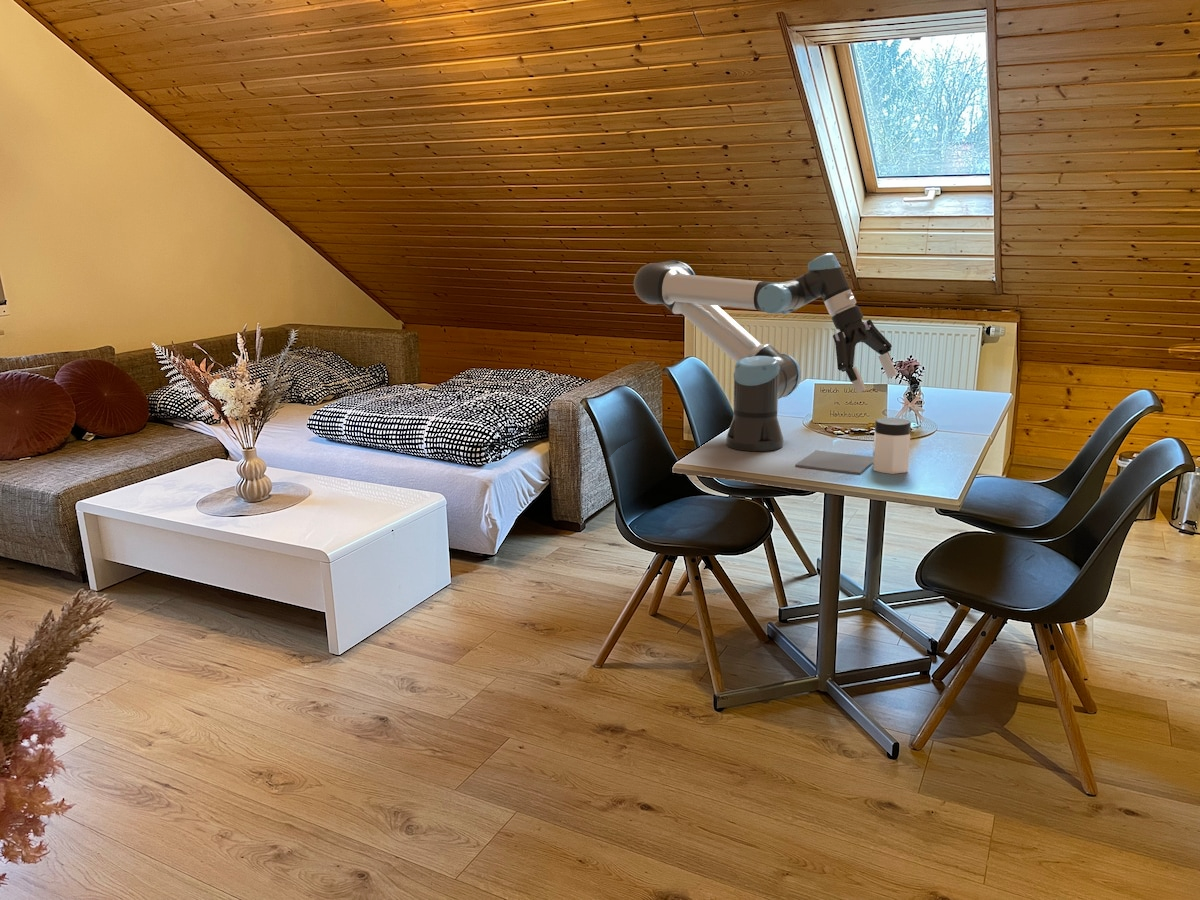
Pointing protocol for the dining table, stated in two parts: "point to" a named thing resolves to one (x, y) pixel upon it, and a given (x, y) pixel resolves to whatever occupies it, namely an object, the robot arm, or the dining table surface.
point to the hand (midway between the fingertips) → (877, 384)
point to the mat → (836, 462)
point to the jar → (891, 445)
